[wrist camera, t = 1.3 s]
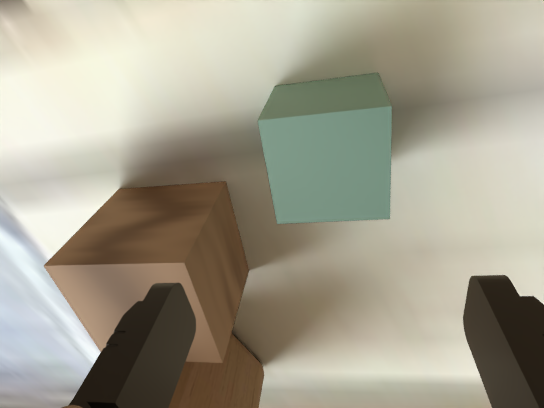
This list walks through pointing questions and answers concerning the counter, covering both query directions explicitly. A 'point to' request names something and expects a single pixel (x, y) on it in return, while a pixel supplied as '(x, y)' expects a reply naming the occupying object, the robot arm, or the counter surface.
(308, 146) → the teal cube
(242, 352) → the block
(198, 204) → the walnut block
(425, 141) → the counter surface
